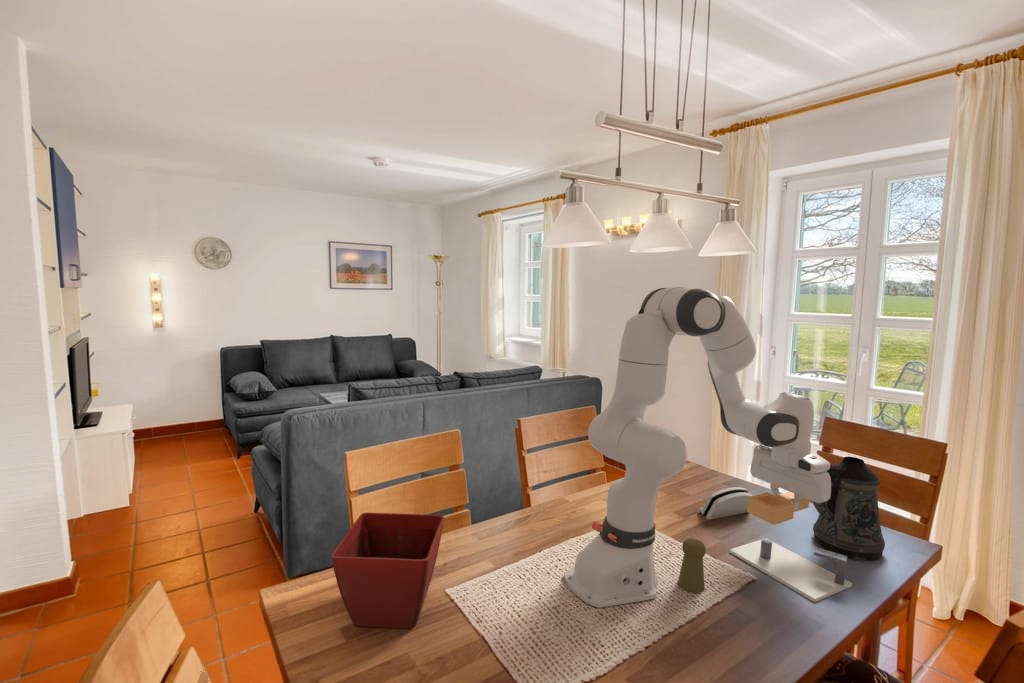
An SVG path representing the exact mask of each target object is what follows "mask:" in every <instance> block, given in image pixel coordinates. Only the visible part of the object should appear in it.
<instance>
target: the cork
mask: <svg viewBox="0 0 1024 683" xmlns="http://www.w3.org/2000/svg"><path fill="white" fill-rule="evenodd" d="M706 548H707V547H706V545H705V544H704V542H703V541H701V540H700V539H697V538H685V539H684V541H683V542H682V548H681V550H682V552H683V553H684V554H683V557H682V562H681V566H680V567H681V568H680V571H679V576H678V580H677V585H678V586H679V588H681V589H682V590H684V591H685V590H686V592H688V593H691V592H692V593H691V594H700V593H703V592H704V591H705V588H706V587H705V586H706V585H705V572H704V560H703V559H704V557H705V555H706V552H707V551H706V550H707V549H706Z"/></svg>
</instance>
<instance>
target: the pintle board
mask: <svg viewBox="0 0 1024 683" xmlns="http://www.w3.org/2000/svg"><path fill="white" fill-rule="evenodd" d="M729 553H730V554H732V555H734V556H735V557H737V558H738V559H741V560H742V561H744V562H745V563H746V564H747V563H748V564H749V565H750V566H752V567H754V568H756V569H757V570H759V571H761V572H762V573H764V574H766V575H768V576H769V577H771V578H773V579H774V580H776V581H777V582H779V583H781V584H783V585H785V586H786V587H788V588H790V589H792V590H793V591H794V592H796V593H798V594H800V595H802V597H805V598H807V599H808V600H811V601H812V602H813V603H817V602H818V601H821V600H823V599H825V598H828V597H831V596H832V595H835V594H838V593H839V592H842V591H844V590H846V589H849V588H851V587H853V582H851V581H850V580H847V579H845V581H844V586H843V585H840V584H837V583H835V574H836V573H835V572H834V573H833V572H831V571H829V570H828V569H826V568H823V567H822V566H820V565H818V564H816V563H814V562H813V561H811V560H809V559H807V558H805V557H803V556H801V555H799V554H796V553H795V552H793V551H791V550H789V549H787V548H785V547H783V546H781V545H780V544H778V543H776V542H774V541H771V540H769V539H768V538H762V539H759V540H756V541H752V542H750V543H746V544H743V545H739V546H736V547H733V548H730V549H729Z"/></svg>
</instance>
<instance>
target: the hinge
mask: <svg viewBox="0 0 1024 683" xmlns="http://www.w3.org/2000/svg"><path fill="white" fill-rule="evenodd" d="M752 496H753V494H752V493H751V492H750V491H749V490H748V489H747V488H744V487H738V486H736V487H735V486H734V487H728V488H727V487H726V488H724V489H723V488H722V489H720V490H717V491H715V492H713V493H711V494H710V495H709V496H708V498H707V499H706V501H705V503H704V505H703V506H702V507H699V508H698V510H697V513H698V514H702V515H705V518H706V519H707V520H708V521H711V520H714V519H720V518H724V517H730V516H735V515H740V514H746V513H748V512H747V506H748V497H752Z"/></svg>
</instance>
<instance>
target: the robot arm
mask: <svg viewBox="0 0 1024 683" xmlns="http://www.w3.org/2000/svg"><path fill="white" fill-rule="evenodd" d="M750 330H751V329H750V328H749V326H748V324H747V322H746V320H745V318H744V316H743V315H742V313H741V312H740V310H739V308H738V307H737V305H736V304H735V303H734V301H733V300H732V299H731V298H729V297H728V296H726V295H719V294H718V295H716V294H715V293H713V292H711V291H709V290H707V289H704V288H698V287H697V288H692V287H691V288H690V287H683V286H675V287H674V286H672V287H660V288H657V289H655V290H652V291H650V293H648V294H647V295H645V297H644V299H643V300H642V303H641V306H640V309H639V311H638V312H637V314H636V315H633V316H631V317H630V318H629V319H627V321H626V323H625V327H624V330H623V334H622V338H621V342H620V348H619V355H618V362H617V370H616V371H617V373H616V379H615V380H616V381H615V386H614V391H613V395H612V397H611V399H610V401H609V403H608V405H607V406H606V408H605V409H604V410H603V411H601V413H599V414H597V415H596V416H594V418H593V419H592V421H591V422H590V423H589V427H588V432H587V435H588V441H589V444H590V445H591V446H592V447H593V448H594V449H595V450H596V451H597V452H599V453H601V455H604V456H605V457H607V458H608V459H612V460H613V461H615V462H618V463H621V464H623V465H624V466H625V475H624V477H622V478H619V479H616V480H615V481H614V482H612V484H610V485H609V487H608V490H607V498H606V499H607V500H606V504H607V505H606V515H605V517H604V519H603V522H602V523H600V522H599V521H598V520H594V521H592V523H591V529H593V530H594V531H596V532H597V533H598V532H599V534H598V535H597V536H595V538H593V539H592V540H591V541H590V542H589V543H588V544H587V545H585V547H584V548H583V549H582V550H581V551H579V552H578V553H577V555H576V558H575V563H574V566H573V567H572V568H569V569H567V570H565V571H564V576H563V577H564V582H565V583H566V585H567V587H568V588H569V590H570V591H571V592H572V593H573V594H575V595H576V597H578V598H579V599H580V600H582V601H583V602H584V603H586V604H588V605H590V606H592V607H594V608H598V609H599V608H600V609H601V608H605V607H612V606H613V607H614V606H617V605H623V604H624V605H625V604H631V603H636V602H642V601H649V600H654V599H655V598H656V597H657V591H656V587H657V585H658V578H657V574H656V569H655V559H654V558H655V557H654V542H655V541H656V523H655V513H656V504H657V498H658V493H659V491H660V489H661V487H662V485H663V484H664V482H667V480H669V479H671V478H674V477H675V476H677V475H678V474H679V473H680V472H681V471H682V470H683V468H684V466H685V465H686V461H687V457H688V456H687V455H688V452H687V447H686V443H685V441H684V440H683V438H682V437H680V436H679V435H677V434H676V433H675V432H672V431H670V430H669V429H667V428H665V427H663V426H659V425H656V424H652V423H649V422H647V421H644V416H645V413H646V411H647V409H648V407H650V406H653V405H655V404H657V403H658V402H660V401H661V400H662V399H663V398H664V395H665V392H666V383H667V375H668V374H667V373H668V363H669V352H670V350H669V348H670V345H671V342H672V340H673V339H674V337H675V336H690V337H699V339H700V342H701V344H702V347H703V349H704V351H705V354H706V356H707V359H708V360H707V367H708V372H709V376H710V379H711V381H712V384H713V389H714V391H715V394H716V396H717V399H718V404H719V410H720V413H719V414H720V415H719V417H720V422H721V425H722V426H723V428H724V429H725V430H726V431H727V432H729V433H730V434H733V435H736V436H738V437H742V438H744V439H745V440H749V441H751V442H754V443H756V444H758V445H756V446H755V447H754V449H753V456H752V461H751V464H750V469H749V470H750V474H751V477H753V478H756V479H758V480H760V481H763V482H765V483H768V484H770V487H769V488H770V490H771V492H772V493H771V494H772V495H775V496H776V495H780V494H781V492H780V489H782V490H785V491H787V492H792V493H794V497H795V498H796V499H795V500H793V501H790V502H791V503H793V504H794V510H797V509H798V507H799V503H800V502H801V501H802V499H803V498H807V499H809V501H812V502H813V501H814V502H817V503H823V502H826V501H828V500H829V499H830V496H831V478H830V475H829V473H828V472H827V470H829V469H830V466H831V462H830V461H828V460H827V459H825V457H824V458H823V457H822V456H821V455H819V454H818V453H816V452H815V451H814V450H812V443H811V436H812V434H813V430H814V421H815V419H814V417H815V415H814V414H815V412H814V405H813V404H814V403H813V401H812V400H811V399H810V398H809V397H807V396H803V395H800V394H796V393H791V392H786V391H785V392H780V393H779V395H778V397H777V398H776V399H775V400H773V401H772V402H770V403H768V404H765V405H762V404H759V403H756V402H754V401H751V400H750V399H748V398H747V397H746V396H745V395H744V394H743V392H742V388H741V385H740V382H739V379H738V376H737V373H739V372H741V371H742V370H744V369H745V368H747V367H749V366H750V364H751V363H752V362H753V360H754V359H755V357H756V354H757V351H756V350H757V349H756V343H755V339H754V338H753V336H752V333H751V331H750Z"/></svg>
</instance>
